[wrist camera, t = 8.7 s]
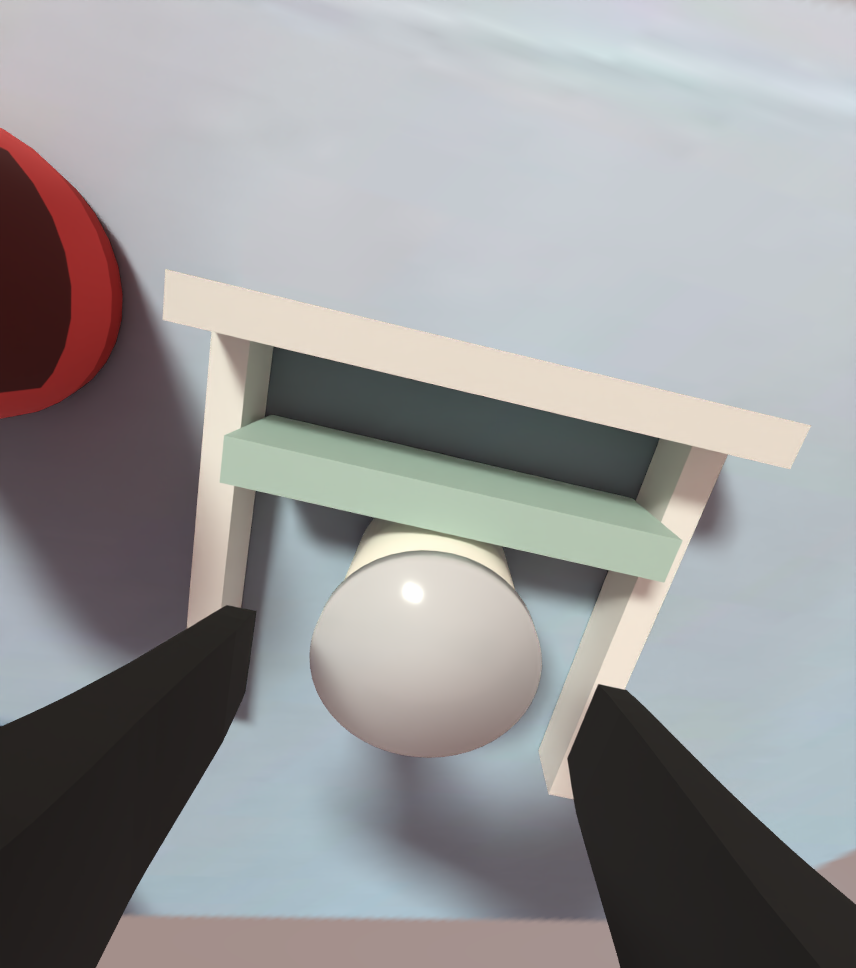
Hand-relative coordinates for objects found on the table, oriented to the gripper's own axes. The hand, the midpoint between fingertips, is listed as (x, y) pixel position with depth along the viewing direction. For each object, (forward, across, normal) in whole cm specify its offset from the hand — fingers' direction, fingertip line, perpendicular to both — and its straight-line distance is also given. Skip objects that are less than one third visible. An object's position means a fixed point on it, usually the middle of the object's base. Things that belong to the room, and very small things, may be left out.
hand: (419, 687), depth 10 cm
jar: (+6, 0, 0) cm, 6 cm away
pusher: (+6, 0, -3) cm, 7 cm away
